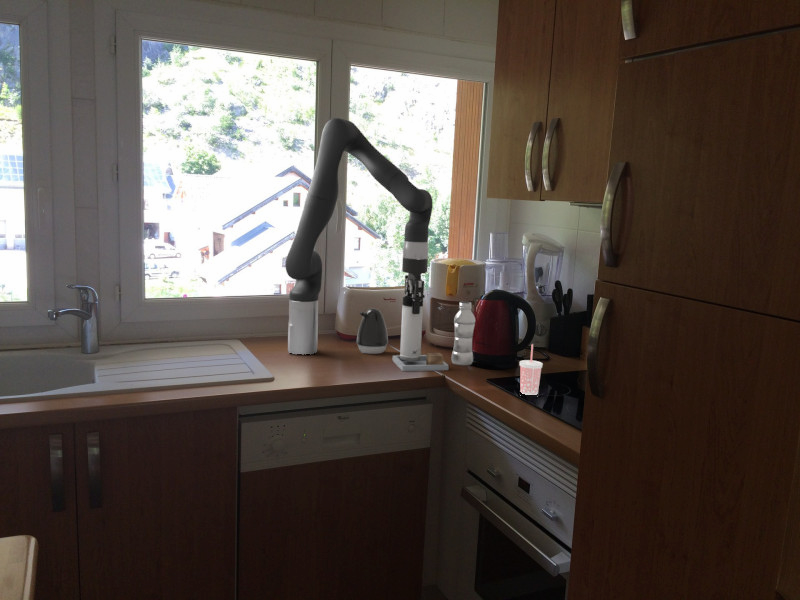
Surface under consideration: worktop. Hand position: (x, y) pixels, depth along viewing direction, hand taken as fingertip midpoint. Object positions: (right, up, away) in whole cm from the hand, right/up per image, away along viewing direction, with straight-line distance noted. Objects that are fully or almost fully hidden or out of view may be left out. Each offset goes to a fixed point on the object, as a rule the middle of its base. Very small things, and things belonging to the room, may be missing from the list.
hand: (412, 311), depth 203 cm
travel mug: (-1, -15, +2) cm, 15 cm away
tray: (+2, -17, +1) cm, 17 cm away
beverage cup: (+31, -22, -23) cm, 44 cm away
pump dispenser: (-13, -14, +17) cm, 26 cm away
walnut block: (+6, -17, -1) cm, 18 cm away
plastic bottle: (+15, -17, +6) cm, 24 cm away
